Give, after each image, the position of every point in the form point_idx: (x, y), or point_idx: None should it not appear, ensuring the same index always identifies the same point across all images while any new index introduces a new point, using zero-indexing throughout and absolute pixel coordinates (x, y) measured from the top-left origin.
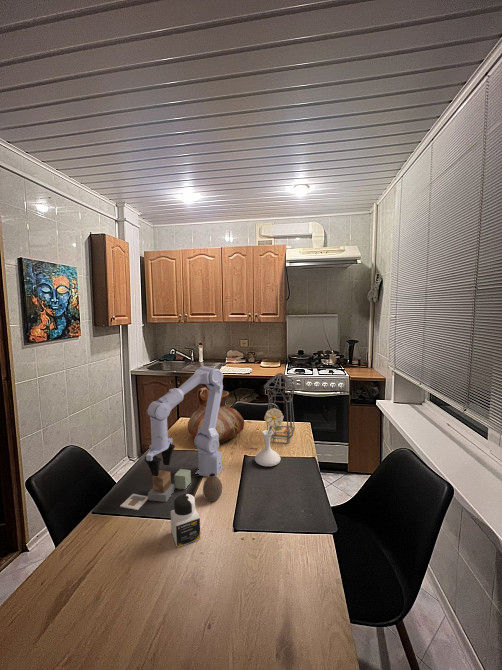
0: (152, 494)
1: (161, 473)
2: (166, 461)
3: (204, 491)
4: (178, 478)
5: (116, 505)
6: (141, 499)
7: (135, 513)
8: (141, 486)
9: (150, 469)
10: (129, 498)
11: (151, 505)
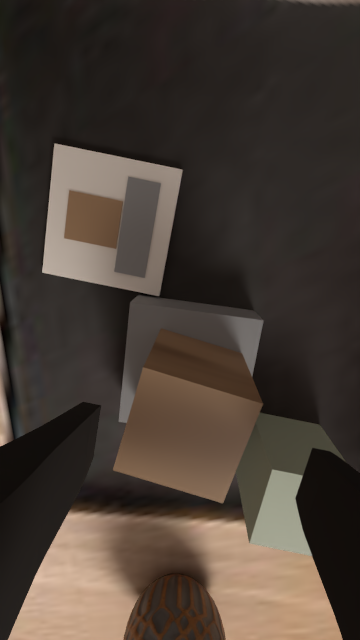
0: (127, 334)
1: (193, 435)
2: (319, 515)
3: (135, 629)
4: (259, 480)
5: (68, 110)
6: (125, 258)
7: (19, 271)
8: (278, 188)
9: (28, 436)
10: (131, 170)
11: (93, 333)
